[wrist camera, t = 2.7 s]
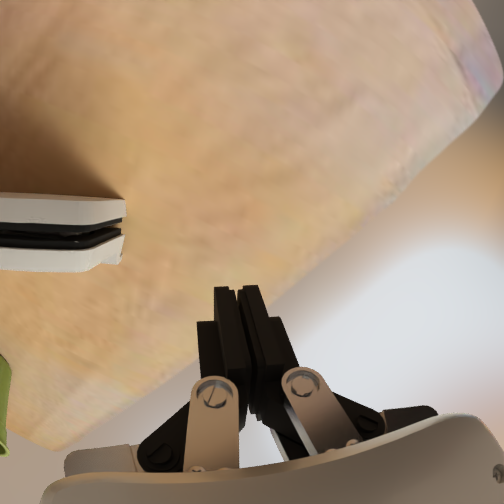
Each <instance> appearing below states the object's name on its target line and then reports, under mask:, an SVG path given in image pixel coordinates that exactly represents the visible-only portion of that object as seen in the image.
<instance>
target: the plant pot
mask: <svg viewBox="0 0 504 504" xmlns="http://www.w3.org/2000/svg"><path fill="white" fill-rule="evenodd" d="M11 374H12V373H11V369H10V367H9V365H8V363H7V362H6V361H5V359H4V358H3V357H2V356H1V355H0V456H1V457H7V456H9V454H10V452H9V449H8V448H7V446H6V436H7V432H6V414H7V405H8V396H9V388H10V382H11Z"/></svg>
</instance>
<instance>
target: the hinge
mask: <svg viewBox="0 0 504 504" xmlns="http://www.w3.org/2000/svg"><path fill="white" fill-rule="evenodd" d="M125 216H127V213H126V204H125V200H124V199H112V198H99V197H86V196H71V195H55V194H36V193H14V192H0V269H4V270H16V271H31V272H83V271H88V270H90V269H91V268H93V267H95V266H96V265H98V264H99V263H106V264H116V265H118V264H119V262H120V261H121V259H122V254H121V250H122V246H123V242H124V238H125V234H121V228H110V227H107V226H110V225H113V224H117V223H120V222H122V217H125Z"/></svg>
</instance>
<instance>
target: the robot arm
mask: <svg viewBox="0 0 504 504" xmlns="http://www.w3.org/2000/svg"><path fill="white" fill-rule="evenodd" d="M197 335H198V349H199V360H200V371H201V380H199V381H198V382H197V383H196V384H195V385H194V386H193V388H192V391H191V399H190V401H189V402H188V403H187V404H186V405H184V406H183V407H182V408H181V409H180V410H179V411H178V412H176V413H175V414H174V415H173V416H172V417H171V418H169V419H168V420H167V421H166V422H165V423H164V424H163V425H161V426H160V427H159V428H158V429H157V430H156V431H154V432H153V433H152V434H151V435H150V436H149V437H147V438H146V439H145V440H144V441H143V442H142V443H141V444H138V445H132V446H130V445H129V444H124V445H117V446H110V447H103V448H94V449H85V450H77V451H73V452H71V453H70V454H69V455H67V457H66V459H65V461H64V471H65V478H62V479H60V480H57V481H55V482H54V483H52V484H50V485H49V486H48V487H47V488H46V490H45V491H44V493H43V495H42V498H41V501H40V504H504V452H503V450H502V448H501V447H500V445H499V443H498V442H497V440H496V438H495V437H494V436H493V434H492V433H491V431H490V430H489V429H488V427H487V426H486V425H485V424H484V423H483V422H482V421H481V420H480V419H479V418H478V417H476V416H474V415H471V414H465V413H449V414H443V415H438V413H437V411H436V410H434V409H433V408H432V407H429V406H424V405H422V406H414V407H406V408H398V409H388V410H383V411H382V412H379V413H378V412H376V411H375V410H373V409H371V408H368V407H366V406H363V405H361V404H359V403H356V402H354V401H352V400H350V399H347V398H345V397H343V396H341V395H338V394H336V393H334V392H332V391H331V390H330V388H329V386H328V385H327V383H326V382H325V380H324V379H323V377H322V376H321V375H320V374H319V373H318V372H316V371H315V370H313V369H310V368H307V367H299V364H298V361H297V359H296V356H295V354H294V351H293V348H292V346H291V343H290V341H289V338H288V336H287V333H286V331H285V328H284V325H283V323H282V320H281V318H280V317H269V316H268V313H267V310H266V307H265V304H264V301H263V299H262V296H261V293H260V290H259V287H258V285H246V286H243V289H240V290H238V294H237V300H236V296H235V291H234V290H229V287H228V286H224V287H214V321H199V322H197ZM248 406H249V410H250V413H251V414H256V418H257V421H260V420H262V423H263V424H264V425H266V426H268V427H269V428H270V431H271V434H272V436H273V438H274V440H275V443H276V445H277V447H278V449H279V451H280V453H281V455H282V457H283V459H284V461H285V462H280V463H274V464H268V465H262V466H255V467H248V468H239V432H240V431H241V430H242V428H244V426H245V421H246V415H247V408H248Z"/></svg>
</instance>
